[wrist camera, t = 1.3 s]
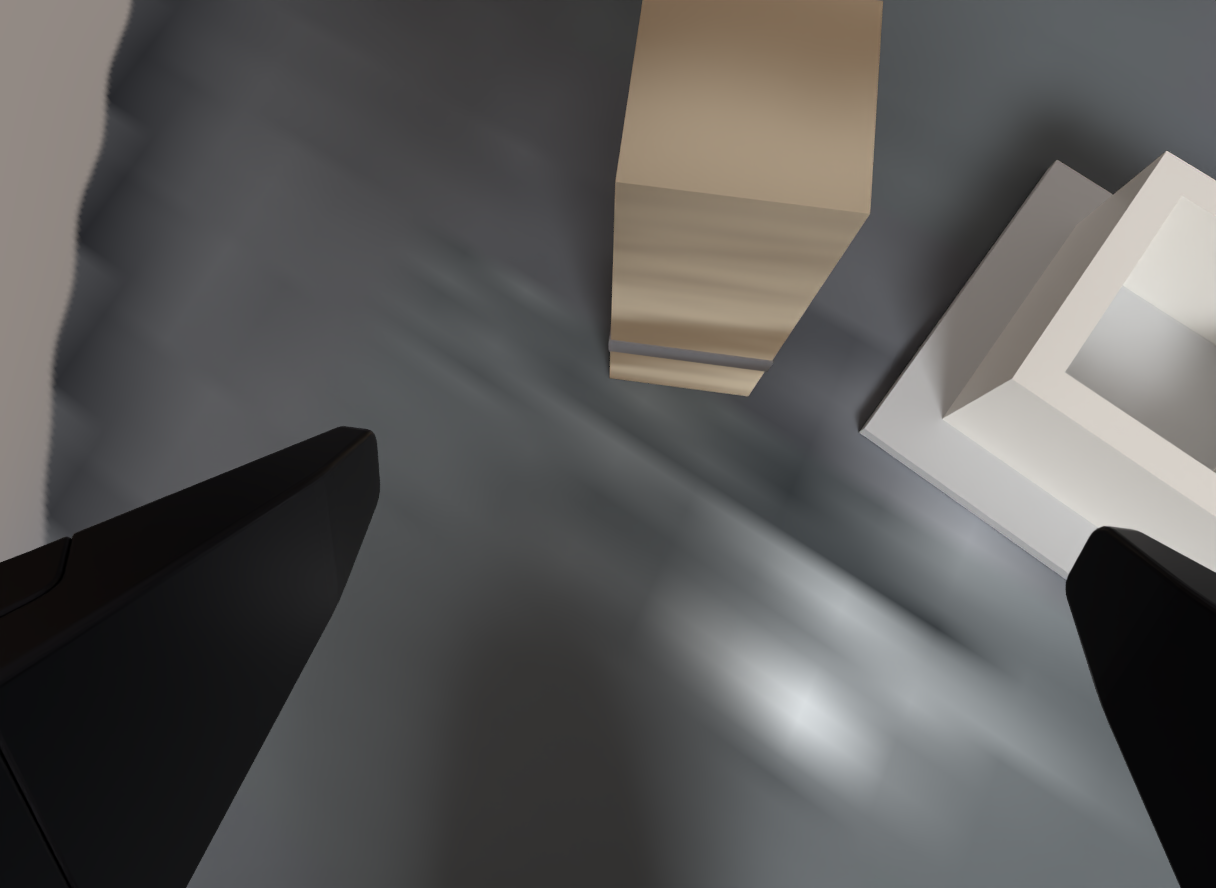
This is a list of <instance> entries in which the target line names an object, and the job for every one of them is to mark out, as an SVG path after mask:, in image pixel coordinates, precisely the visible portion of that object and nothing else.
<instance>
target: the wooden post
mask: <svg viewBox="0 0 1216 888" xmlns="http://www.w3.org/2000/svg"><path fill="white" fill-rule="evenodd" d="M882 7H883V1H877V0H643V1H642V8H641V15H640V21H639V28H638V35H637V41H636V48H635V55H634V61H633V68H632V75H631V81H630V88H629V95H628V101H627V108H626V115H625V121H624V128H623V135H622V141H621V148H620V155H619V161H618V168H617V175H616V181H615V213H614V247H613V281H612V314H611V329H610V336H609V351H610V378H613V379H621V380H628V381H636V382H644V383H651V384H659V385H666V386H674V387H681V388H689V389H697V390H704V391H712V392H719V393H727V394H734V395H742V396H749V394H750V393H751V391H752V390H753V388H754V387H755V385H756V384H757V382H758V381H759V379H760V378H761V376H762V375H763V373H764V372H768V370H769V369H770V367H771V366H772V364H773V363H774V357H775V355H776V354H777V352H778V351H779V349H780V348H781V346H782V345H783V343H784V342H785V340H786V339H787V337H788V336H789V334H790V333H791V331H792V330H793V328H794V327H795V325H796V324H797V322H798V321H799V319H800V318H801V316H802V315H803V313H804V312H805V310H806V309H807V307H808V306H809V304H810V303H811V301H812V300H813V298H814V297H815V296H816V294H817V293H818V291H819V290H820V288H821V287H822V285H823V284H824V282H825V281H826V279H827V278H828V276H829V275H830V273H831V272H832V270H833V269H834V267H835V266H836V264H837V263H838V261H839V260H840V258H841V257H842V255H843V254H844V252H845V251H846V249H847V248H848V246H849V245H850V243H851V242H852V240H853V239H854V237H855V236H856V234H857V233H858V231H859V230H860V228H861V227H862V225H863V224H864V222H865V221H866V219H867V218H868V216H869V215H870V206H871V190H872V173H873V157H874V140H875V123H876V107H877V90H878V74H879V57H880V41H881V24H882Z"/></svg>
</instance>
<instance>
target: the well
mask: <svg viewBox="0 0 1216 888" xmlns="http://www.w3.org/2000/svg"><path fill="white" fill-rule="evenodd" d="M859 433H861V434H862V435H863V436H865V437H866V438H868V439H869V440H870V441H872V442H873V443H875V444H876V445H877V446H879V447H880V448H882V449H883V450H885V451H886V452H887V453H889V454H890V455H892V456H893V457H894V458H896V459H897V460H899V461H900V462H901V463H903V464H904V465H906V466H907V467H908V468H910V469H911V470H913V471H914V472H915V473H917V474H918V475H920V476H921V477H922V478H924V479H925V480H927V481H928V482H929V483H931V484H932V485H934V486H935V487H936V488H938V489H939V490H941V491H942V492H944V493H945V494H946V495H948V496H949V497H951V498H952V499H953V500H955V501H956V502H958V503H959V504H960V505H962V506H963V507H965V508H966V509H967V510H969V511H970V512H972V513H973V514H974V515H976V516H977V517H979V518H980V519H981V520H983V521H984V522H986V523H987V524H988V525H990V526H991V527H993V528H994V529H995V530H997V531H998V532H1000V533H1001V534H1003V535H1004V536H1005V537H1007V538H1008V539H1010V540H1011V541H1012V542H1014V543H1015V544H1017V545H1018V546H1019V547H1021V548H1022V549H1024V550H1025V551H1026V552H1028V553H1029V554H1031V555H1032V556H1033V557H1035V558H1036V559H1038V560H1039V561H1040V562H1042V563H1043V564H1045V565H1046V566H1047V567H1049V568H1050V569H1052V570H1053V571H1054V572H1056V573H1057V574H1059V575H1060V576H1062V577H1063V578H1064V579H1066V580H1067V577H1068V574H1069V572H1070V571H1071V569H1072V567H1073V565H1074V563H1075V562H1076V560H1077V558H1078V556H1079V554H1080V553H1081V551H1082V549H1083V547H1084V545H1085V543H1086V542H1087V540H1088V538H1089V536H1090V535H1091V533H1092V532H1093V531H1094V530H1096V529H1097V528H1099V527H1102V526H1112V527H1119V528H1127V529H1133V530H1137V531H1140V532H1142V533H1144V534H1146V535H1147V536H1149V537H1151V538H1153V539H1155V540H1157V541H1159V542H1160V543H1162V544H1164V545H1166V546H1168V547H1170V548H1171V549H1173V550H1175V551H1177V552H1179V553H1181V554H1183V555H1184V556H1186V557H1188V558H1190V559H1192V560H1194V561H1196V562H1197V563H1199V564H1201V565H1203V566H1205V567H1207V568H1208V569H1210V570H1212V571H1214V572H1216V180H1214V179H1212V178H1211V177H1209V176H1207V175H1206V174H1204V173H1203V172H1201V171H1199V170H1198V169H1196V168H1194V167H1193V166H1191V165H1189V164H1188V163H1186V162H1184V161H1183V160H1181V159H1180V158H1178V157H1176V156H1175V155H1173V154H1171V153H1170V152H1168V151H1166V152H1165V153H1163V154H1162V155H1161V156H1160V157H1158V158H1157V159H1156V160H1155V161H1154V162H1152V163H1151V164H1150V165H1149V166H1147V167H1146V168H1145V169H1144V170H1143V171H1141V172H1140V173H1139V174H1138V175H1137V176H1135V177H1134V178H1133V179H1132V180H1130V181H1129V182H1128V183H1127V184H1126V185H1124V186H1123V187H1122V188H1121V189H1119V190H1118V191H1117V192H1116V193H1115V194H1111V193H1110V192H1108V191H1107V190H1105V189H1103V188H1102V187H1100V186H1099V185H1097V184H1095V183H1094V182H1092V181H1091V180H1089V179H1087V178H1086V177H1084V176H1083V175H1081V174H1079V173H1078V172H1076V171H1075V170H1073V169H1071V168H1070V167H1068V166H1067V165H1065V164H1063V163H1062V162H1060V161H1059V160H1056V161H1055V162H1054V163H1053V164H1052V165H1051V166H1050V167H1049V168H1048V169H1047V171H1046V172H1045V174H1044V175H1043V176H1042V178H1041V179H1040V181H1039V182H1038V183H1037V185H1036V186H1035V188H1034V189H1033V190H1032V192H1031V193H1030V195H1029V196H1028V197H1027V199H1026V200H1025V202H1024V203H1023V204H1022V206H1021V207H1020V209H1019V210H1018V211H1017V213H1016V214H1015V215H1014V217H1013V218H1012V220H1011V221H1010V222H1009V224H1008V225H1007V227H1006V228H1005V229H1004V231H1003V232H1002V234H1001V235H1000V236H999V238H998V239H997V241H996V242H995V243H994V245H993V246H992V248H991V249H990V250H989V252H988V253H987V255H986V256H985V257H984V259H983V260H982V262H981V263H980V264H979V266H978V267H977V268H976V270H975V271H974V273H973V274H972V275H971V277H970V278H969V280H968V281H967V282H966V284H965V285H964V287H963V288H962V289H961V291H960V292H959V294H958V295H957V296H956V298H955V299H954V301H953V302H952V303H951V305H950V306H949V308H948V309H947V310H946V312H945V313H944V315H943V316H942V317H941V319H940V320H939V321H938V323H937V324H936V326H935V327H934V328H933V330H932V331H931V333H930V334H929V335H928V337H927V338H926V340H925V341H924V342H923V344H922V345H921V347H920V348H919V349H918V351H917V352H916V354H915V355H914V356H913V358H912V359H911V361H910V362H909V363H908V365H907V366H906V368H905V369H904V370H903V372H902V373H901V375H900V376H899V377H898V379H897V380H896V381H895V383H894V384H893V386H892V387H891V388H890V390H889V391H888V393H887V394H886V395H885V397H884V398H883V400H882V401H881V402H880V404H879V405H878V407H877V408H876V409H875V411H874V412H873V414H872V415H871V416H870V418H869V419H868V421H867V422H866V423H865V425H864V426H863V428H862V429H861V430H860V432H859Z"/></svg>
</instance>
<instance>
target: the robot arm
mask: <svg viewBox="0 0 1216 888" xmlns="http://www.w3.org/2000/svg"><path fill="white" fill-rule="evenodd" d="M379 493H380V477H379V463H378V450H377V440H376V437H375V434H374V433H373V432H372V431H371V430H368V429H362V428H354V427H346V426H340V427H337V428H335V429H332V430H330V431H327V432H325V433H322V434H320V435H317V436H315V437H312V438H310V439H307V440H305V441H302V442H300V443H297V444H295V445H292V446H290V447H287V448H285V449H283V450H280V451H278V452H275V453H273V454H270V455H268V456H265V457H263V458H260V459H258V460H255V461H253V462H250V463H248V464H245V465H243V466H240V467H238V468H235V469H233V470H230V471H228V472H225V473H223V474H220V475H218V476H215V477H213V478H211V479H208V480H206V481H203V482H201V483H198V484H196V485H193V486H191V487H188V488H186V489H183V490H181V491H178V492H176V493H173V494H171V495H168V496H166V497H163V498H161V499H158V500H156V501H153V502H151V503H148V504H146V505H143V506H141V507H138V508H136V509H134V510H131V511H129V512H126V513H124V514H121V515H119V516H116V517H114V518H111V519H109V520H106V521H104V522H101V523H99V524H96V525H94V526H91V527H89V528H86V529H84V530H81V531H79V532H76V533H74V534H73V536H72V539H71V538H70V537H63V538H61V539H58V540H56V541H54V542H51V543H49V544H46V545H44V546H41V547H39V548H36V549H34V550H32V551H29V552H26V553H24V554H21V555H19V556H16V557H14V558H11V559H8V560H6V561H3V562H0V888H186V887H187V885H188V883H189V881H190V879H191V878H192V876H193V874H194V872H195V870H196V868H197V866H198V864H199V863H200V861H201V859H202V857H203V855H204V853H205V851H206V850H207V848H208V846H209V844H210V842H211V840H212V838H213V836H214V835H215V833H216V831H217V829H218V827H219V825H220V823H221V822H222V820H223V818H224V816H225V814H226V812H227V810H228V808H229V807H230V805H231V803H232V801H233V799H234V797H235V795H236V794H237V792H238V790H239V788H240V786H241V784H242V782H243V780H244V779H245V777H246V775H247V773H248V771H249V769H250V767H251V765H252V764H253V762H254V760H255V758H256V756H257V754H258V752H259V751H260V749H261V747H262V745H263V743H264V741H265V739H266V737H267V736H268V734H269V732H270V730H271V728H272V726H273V724H274V723H275V721H276V719H277V717H278V715H279V713H280V711H281V709H282V708H283V706H284V704H285V702H286V700H287V698H288V696H289V695H290V693H291V691H292V689H293V687H294V685H295V683H296V681H297V680H298V678H299V676H300V674H301V672H302V670H303V668H304V667H305V665H306V663H307V661H308V659H309V657H310V655H311V653H312V652H313V650H314V648H315V646H316V644H317V642H318V640H319V639H320V637H321V635H322V633H323V631H324V629H325V627H326V625H327V624H328V622H329V620H330V618H331V616H332V614H333V612H334V610H335V608H336V606H337V604H338V602H339V600H340V598H341V595H342V593H343V590H344V588H345V586H346V583H347V581H348V578H349V575H350V573H351V570H352V568H353V565H354V562H355V560H356V557H357V555H358V552H359V549H360V547H361V544H362V542H363V539H364V536H365V534H366V531H367V529H368V526H369V524H370V521H371V518H372V516H373V513H374V511H375V508H376V505H377V502H378V499H379ZM1066 596H1067V600H1068V603H1069V606H1070V610H1071V613H1072V616H1073V619H1074V622H1075V625H1076V629H1077V632H1078V635H1079V638H1080V641H1081V645H1082V648H1083V651H1084V654H1085V657H1086V660H1087V664H1088V667H1089V670H1090V673H1091V676H1092V679H1093V683H1094V686H1095V689H1096V692H1097V694H1098V697H1099V700H1100V703H1101V706H1102V708H1103V711H1104V713H1105V716H1106V718H1107V721H1108V723H1109V725H1110V728H1111V730H1112V732H1113V735H1114V737H1115V739H1116V741H1117V744H1118V746H1119V748H1120V751H1121V753H1122V755H1123V757H1124V760H1125V762H1126V764H1127V767H1128V769H1129V771H1130V773H1131V776H1132V778H1133V780H1134V783H1135V785H1136V787H1137V789H1138V792H1139V794H1140V796H1141V799H1142V801H1143V803H1144V805H1145V808H1146V810H1147V812H1148V815H1149V817H1150V819H1151V821H1152V824H1153V826H1154V828H1155V831H1156V833H1157V835H1158V837H1159V840H1160V842H1161V844H1162V847H1163V849H1164V851H1165V853H1166V856H1167V858H1168V860H1169V863H1170V865H1171V867H1172V869H1173V872H1174V874H1175V876H1176V879H1177V881H1178V883H1179V885H1180V888H1216V572H1214V571H1212V570H1210V569H1208V568H1207V567H1205V566H1203V565H1201V564H1199V563H1197V562H1196V561H1194V560H1192V559H1190V558H1188V557H1186V556H1184V555H1183V554H1181V553H1179V552H1177V551H1175V550H1173V549H1171V548H1170V547H1168V546H1166V545H1164V544H1162V543H1160V542H1159V541H1157V540H1155V539H1153V538H1151V537H1149V536H1147V535H1146V534H1144V533H1142V532H1140V531H1137V530H1133V529H1127V528H1119V527H1112V526H1102V527H1099V528H1097V529H1096V530H1094V531H1093V532H1092V533H1091V535H1090V536H1089V538H1088V540H1087V542H1086V543H1085V545H1084V547H1083V549H1082V551H1081V553H1080V554H1079V556H1078V558H1077V560H1076V562H1075V563H1074V565H1073V567H1072V569H1071V571H1070V572H1069V574H1068V577H1067V580H1066Z"/></svg>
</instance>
